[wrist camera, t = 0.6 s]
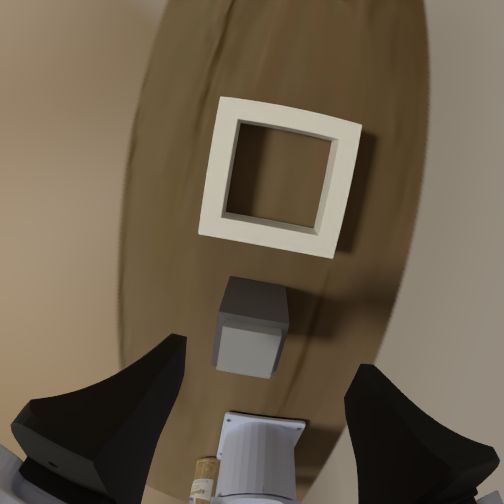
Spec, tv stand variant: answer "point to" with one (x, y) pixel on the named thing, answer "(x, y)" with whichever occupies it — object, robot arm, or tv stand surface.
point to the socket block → (269, 231)
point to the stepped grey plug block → (251, 328)
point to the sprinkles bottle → (205, 481)
